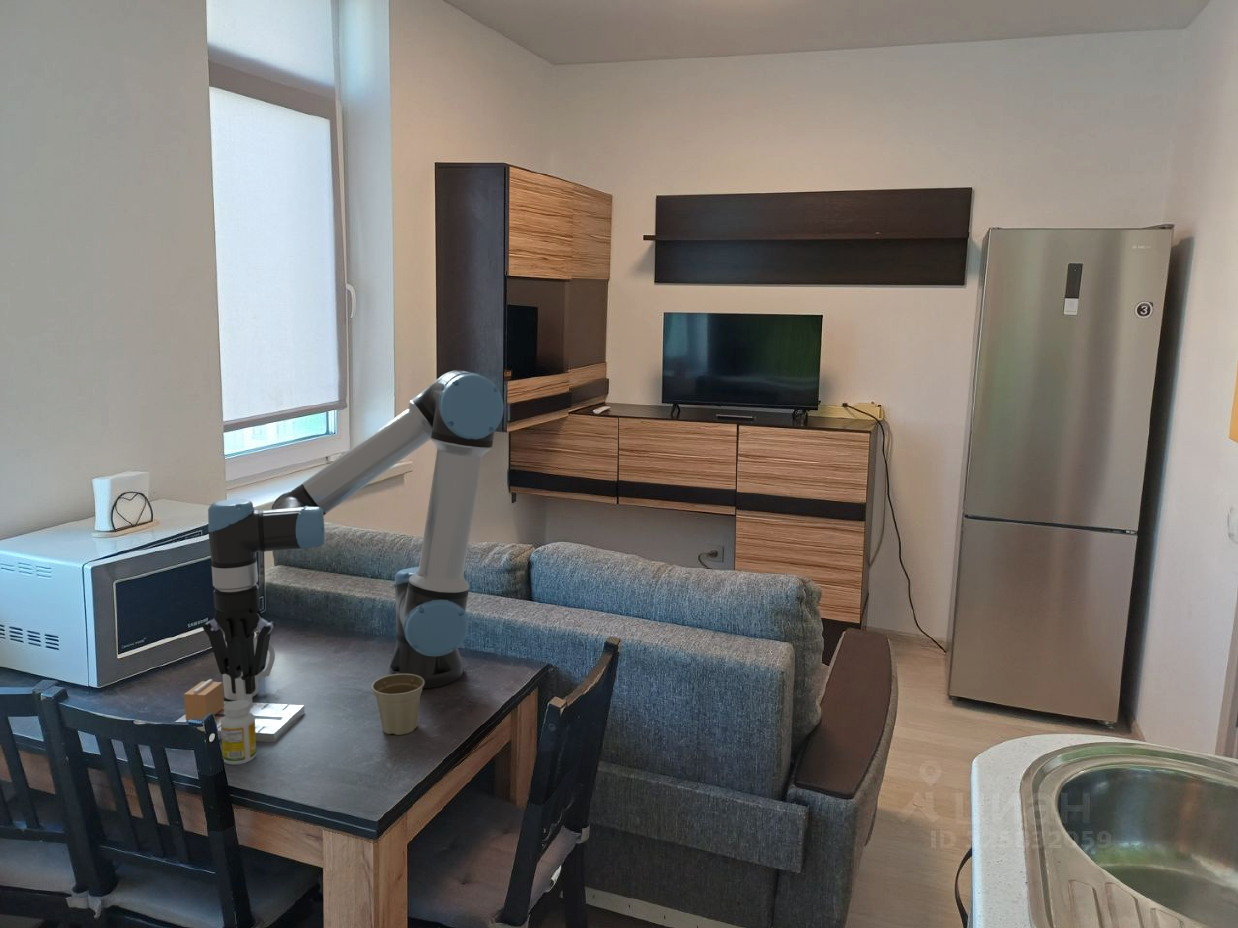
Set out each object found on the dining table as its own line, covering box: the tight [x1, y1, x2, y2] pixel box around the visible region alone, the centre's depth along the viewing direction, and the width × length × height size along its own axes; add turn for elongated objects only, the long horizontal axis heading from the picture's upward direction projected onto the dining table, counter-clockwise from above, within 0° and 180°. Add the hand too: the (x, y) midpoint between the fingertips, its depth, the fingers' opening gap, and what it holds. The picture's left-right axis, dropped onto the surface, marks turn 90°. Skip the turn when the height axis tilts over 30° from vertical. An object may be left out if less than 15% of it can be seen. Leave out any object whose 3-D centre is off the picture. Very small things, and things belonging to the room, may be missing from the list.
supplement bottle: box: [221, 700, 257, 766], centre depth 155 cm, size 5×5×10 cm
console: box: [174, 700, 305, 743], centre depth 168 cm, size 20×12×2 cm, turn 84°
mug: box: [222, 631, 276, 701], centre depth 181 cm, size 10×7×12 cm, turn 121°
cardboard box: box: [183, 678, 225, 720], centre depth 168 cm, size 4×6×6 cm, turn 174°
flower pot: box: [370, 674, 425, 736], centre depth 166 cm, size 9×9×9 cm
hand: (245, 709), depth 168 cm, fingers closed
